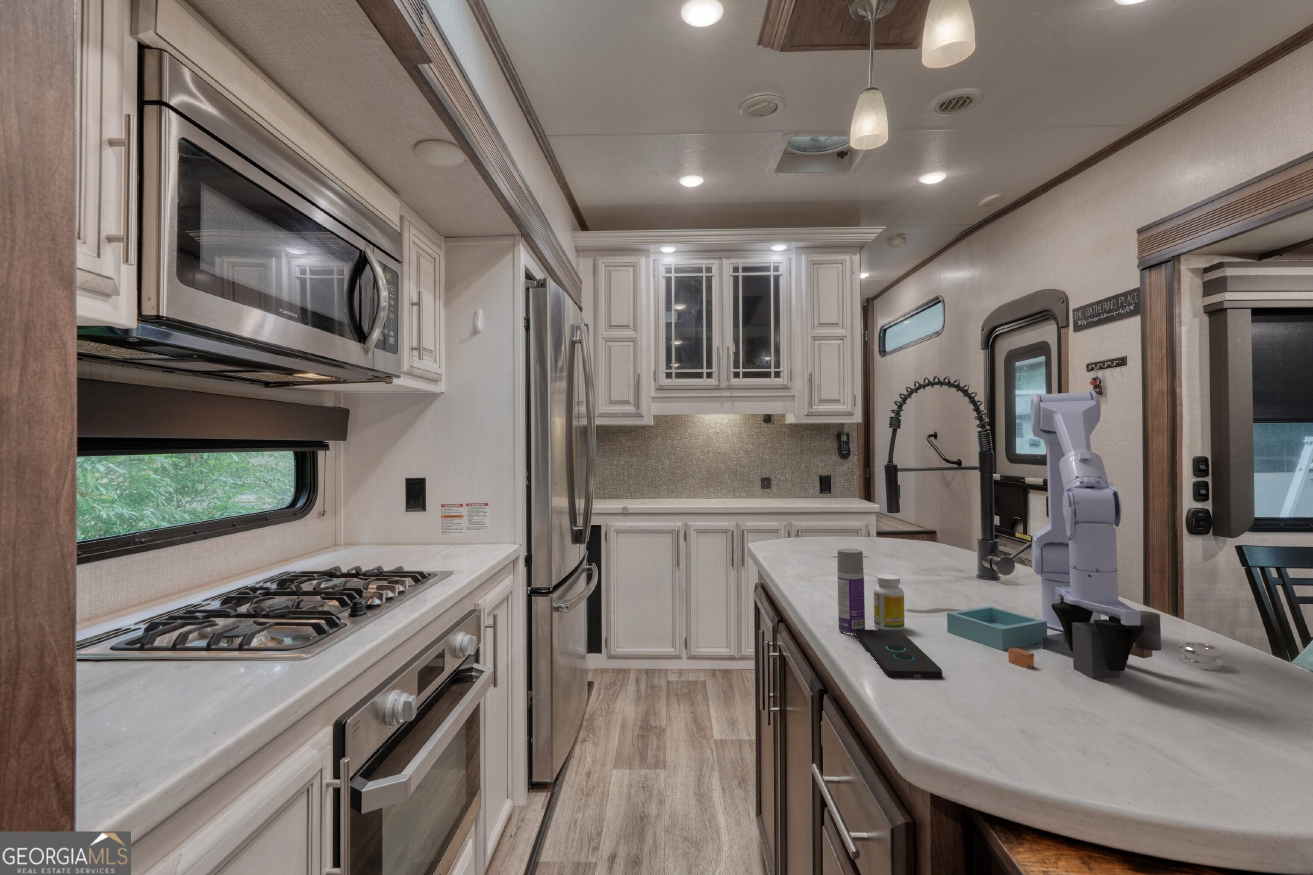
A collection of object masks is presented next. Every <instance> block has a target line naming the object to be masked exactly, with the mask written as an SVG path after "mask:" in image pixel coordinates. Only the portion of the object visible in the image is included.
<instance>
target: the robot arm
mask: <svg viewBox="0 0 1313 875" xmlns="http://www.w3.org/2000/svg"><path fill="white" fill-rule="evenodd" d="M1101 409H1102V404H1101V399H1100V396H1099V393H1096V391H1095V390H1090V391H1086V392H1085V391H1084V392H1066V393H1065V392H1063V393H1044V394H1042V393H1040V394H1039V393H1034V394H1033V396H1032V397H1031V400H1030V420H1031V421H1030V422H1031V423H1030V424H1031V426H1030V427H1031V432H1032V435H1033V436H1032V437H1035V438H1038V439H1041V440H1043V443H1044V446H1045V448H1046V466H1047V467H1046V468H1047V470H1046V472H1047V502H1048V503H1047V504H1048V509H1047V510H1048V524H1047V525H1046V526H1044V527H1041V528H1040V529H1039V530H1037V531H1035V532H1034V533H1033V536H1032V540H1031V543H1032V544H1031V548H1030V549H1031V552H1030V553H1031V557H1030V558H1031V566H1032V570H1033V572H1034V573H1035V574H1036V575H1037V576H1040V577H1041V580H1040V582H1041V607H1042V608H1041V609H1042V610H1041V612H1042V616H1041V618H1039V619H1040V620H1044V621H1047V628H1051V629H1054V630H1057V631H1061V632H1063V630H1064V633H1065V636H1066V640H1067V643H1068V646H1069V649H1070V651H1071V652H1073V636H1072V623H1091V622H1094V624H1095V625H1096V627H1097V629H1098V632H1099V634H1100V637H1101V640H1102V644H1103V650H1104V659H1105V664H1106V667H1107V669H1108V670H1110V671H1121V672H1125V670H1126V668H1127V664H1128V661H1129V657H1130V656H1131V655H1130V652H1131V649H1132V647H1133V645H1134V643H1135V641H1136V640H1137V638H1138V637H1139V635H1140V634H1141V633H1142V632H1143V631H1144V625H1143V624H1140V611H1141V610H1137V609H1135V608H1133V607H1132V606H1129V605H1128V604H1126V603H1124V602H1123V601H1121V600H1120V599H1119V583H1118V582H1119V580H1118V578H1119V577H1118V575H1119V574H1118V554H1117V552H1118V550H1117V547H1118V546H1117V528H1118V527H1119V526H1120V525H1121V520H1122V511H1123V510H1122V502H1121V497H1120V494H1119V491H1118V489H1117V488H1116V487H1115V485H1114V484H1113V483H1112V482H1111V483H1110V482H1109V480H1108V476H1107V475H1108V474H1107V472H1106V468H1105V465H1104V461H1103V459H1102V457H1101V456H1100V455H1099V454H1098V453H1096V452H1093V451H1092V446H1091V435H1092V433H1093V432H1094V431H1095V429H1096V427H1097V425H1098V424H1099V423H1100V421H1101V413H1102V411H1101ZM1102 616H1105V617H1106V618H1108V619H1106V618H1105V619H1104V618H1103V619H1102Z"/></svg>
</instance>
